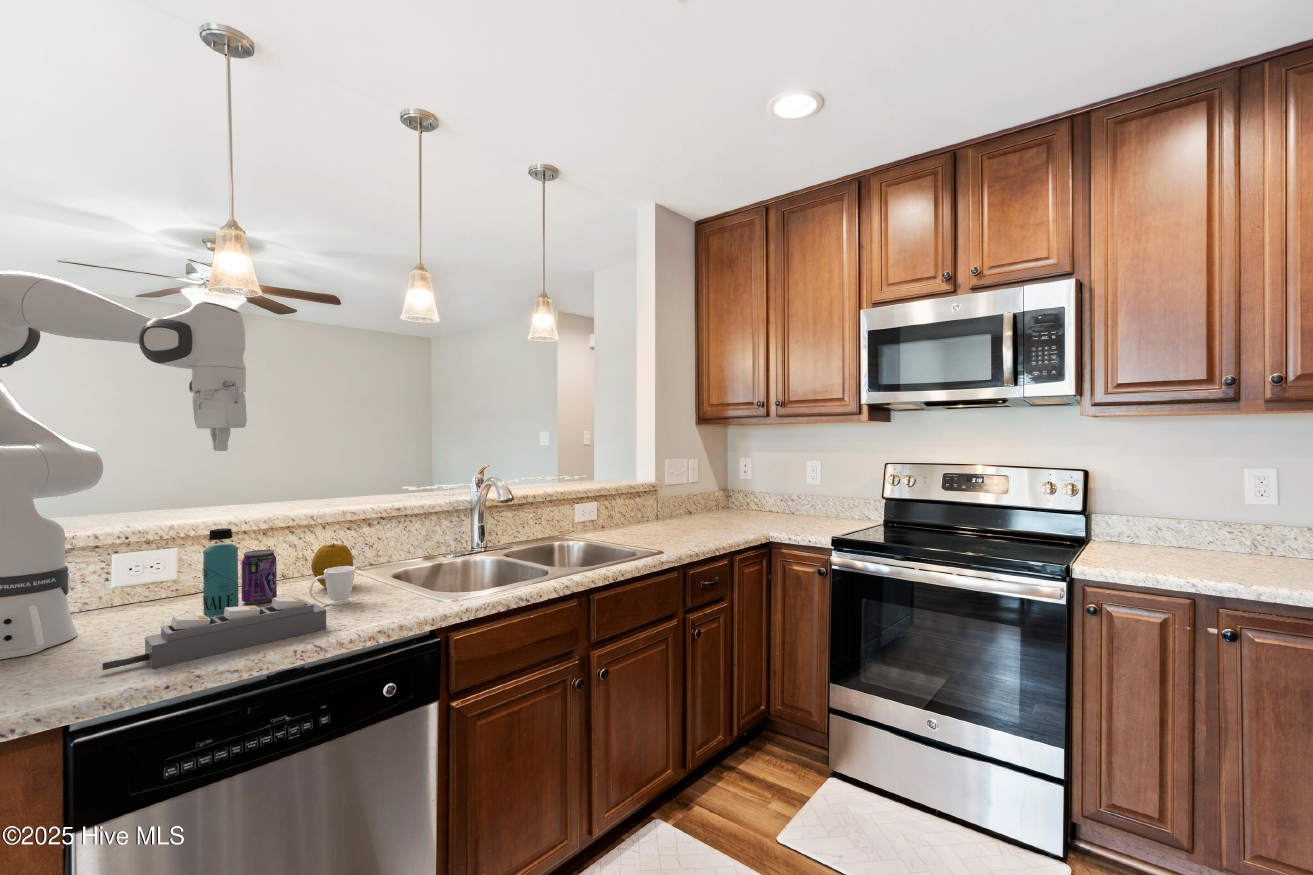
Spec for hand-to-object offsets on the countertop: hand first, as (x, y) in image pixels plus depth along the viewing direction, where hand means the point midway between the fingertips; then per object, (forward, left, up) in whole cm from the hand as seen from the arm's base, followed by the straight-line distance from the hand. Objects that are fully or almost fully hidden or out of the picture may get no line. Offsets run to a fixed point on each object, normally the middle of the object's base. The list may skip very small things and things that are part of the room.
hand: (220, 450), depth 122 cm
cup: (+23, +5, -37) cm, 44 cm away
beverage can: (+12, +21, -37) cm, 45 cm away
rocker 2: (+1, -10, -32) cm, 33 cm away
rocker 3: (+9, -10, -32) cm, 34 cm away
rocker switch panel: (-2, -10, -37) cm, 38 cm away
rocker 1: (-7, -10, -32) cm, 34 cm away
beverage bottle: (+2, +10, -37) cm, 39 cm away
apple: (+29, +22, -37) cm, 52 cm away
